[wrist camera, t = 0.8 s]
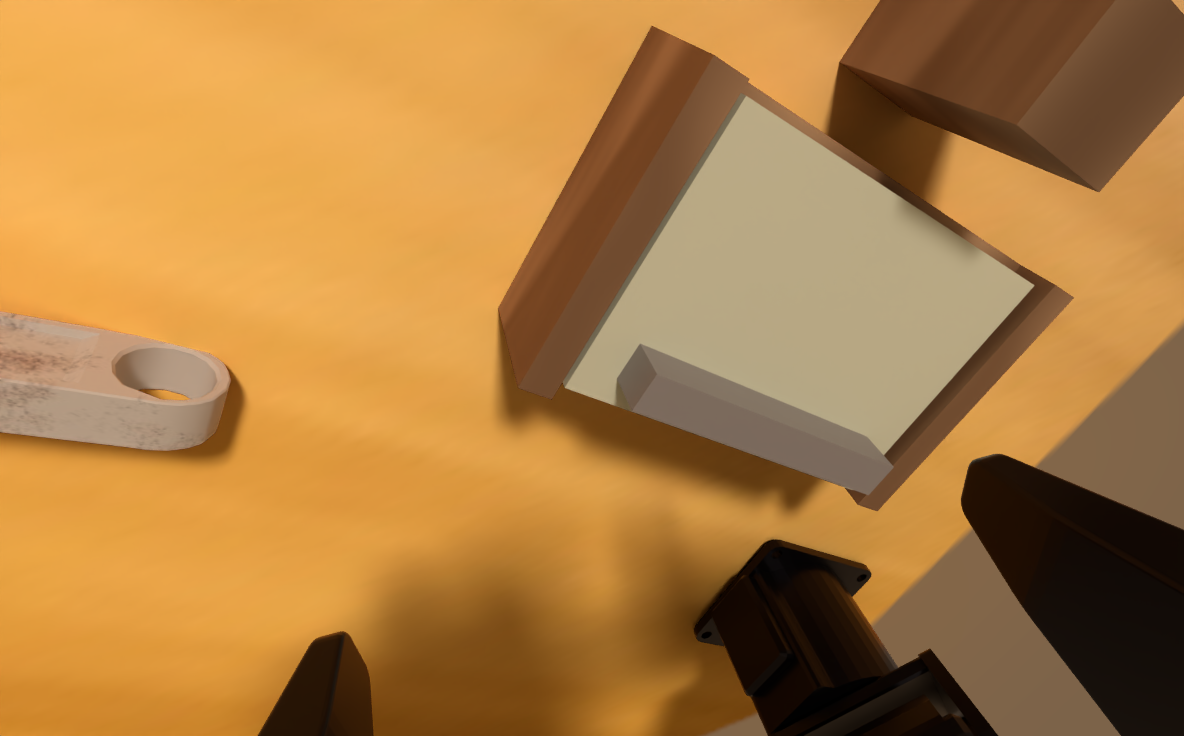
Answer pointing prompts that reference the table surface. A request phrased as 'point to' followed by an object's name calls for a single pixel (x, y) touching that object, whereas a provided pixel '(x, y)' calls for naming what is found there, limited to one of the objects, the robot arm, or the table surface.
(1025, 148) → the brown rectangular block
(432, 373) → the table surface
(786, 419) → the cream cabinet door
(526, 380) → the wooden tray
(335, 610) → the table surface
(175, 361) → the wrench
